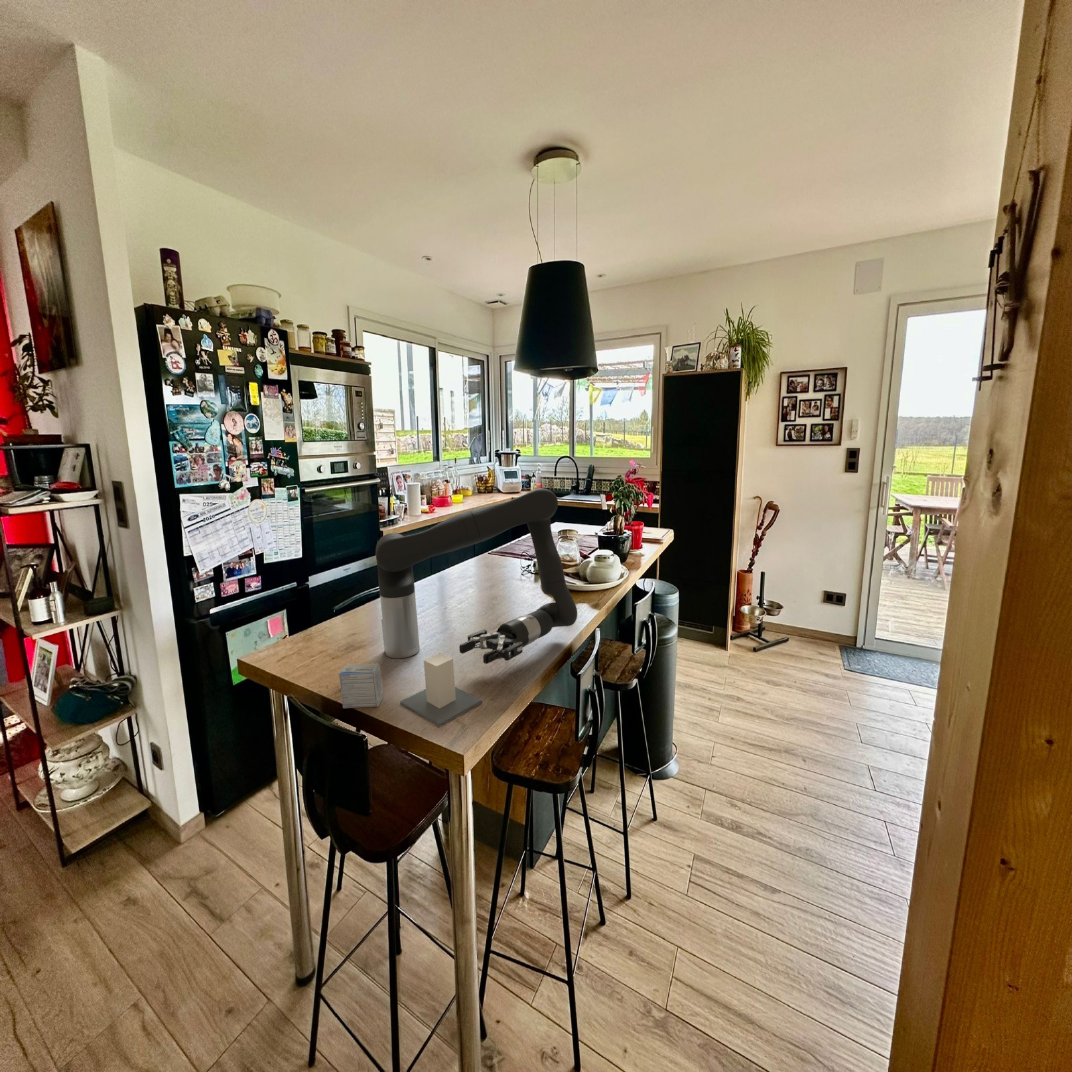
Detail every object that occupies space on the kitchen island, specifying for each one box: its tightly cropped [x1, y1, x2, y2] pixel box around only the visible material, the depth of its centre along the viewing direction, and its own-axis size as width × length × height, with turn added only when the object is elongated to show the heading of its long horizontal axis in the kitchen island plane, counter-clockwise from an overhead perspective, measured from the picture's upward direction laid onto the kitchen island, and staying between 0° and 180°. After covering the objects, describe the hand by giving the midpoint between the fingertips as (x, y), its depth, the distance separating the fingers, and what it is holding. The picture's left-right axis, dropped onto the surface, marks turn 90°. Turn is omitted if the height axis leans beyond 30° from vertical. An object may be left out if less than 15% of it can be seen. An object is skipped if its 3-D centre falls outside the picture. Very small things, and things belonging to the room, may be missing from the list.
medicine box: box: [338, 662, 384, 709], centre depth 110 cm, size 8×4×9 cm, turn 92°
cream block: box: [423, 653, 456, 708], centre depth 108 cm, size 4×4×10 cm
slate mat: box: [399, 686, 483, 728], centre depth 109 cm, size 14×12×1 cm
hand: (472, 654), depth 115 cm, fingers open, 8 cm apart
